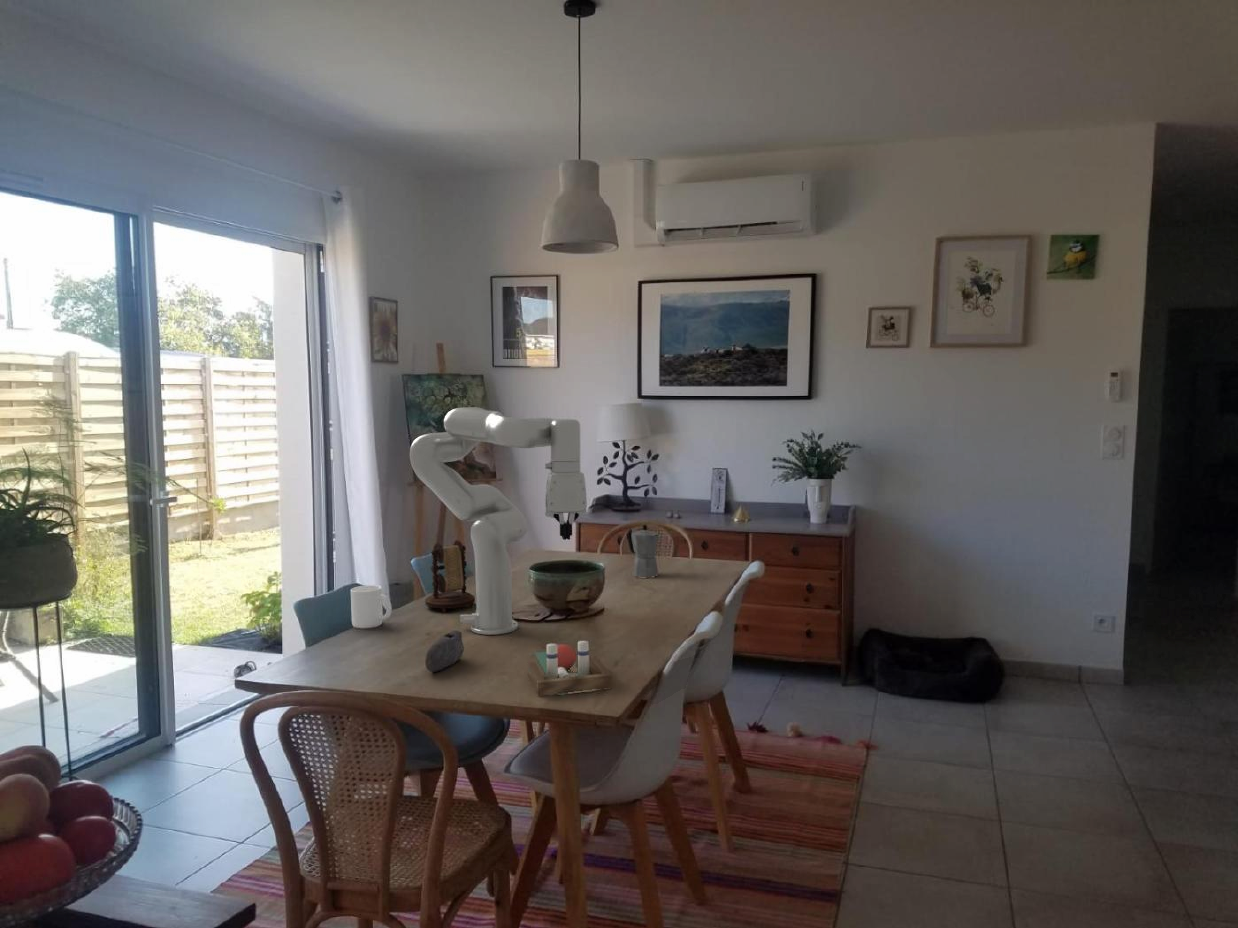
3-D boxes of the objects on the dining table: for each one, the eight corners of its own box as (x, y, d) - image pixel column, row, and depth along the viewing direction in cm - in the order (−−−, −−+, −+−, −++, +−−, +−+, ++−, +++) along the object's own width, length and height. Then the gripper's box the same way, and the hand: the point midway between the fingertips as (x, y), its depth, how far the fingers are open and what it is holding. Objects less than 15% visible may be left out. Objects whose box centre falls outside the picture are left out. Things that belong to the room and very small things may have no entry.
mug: (400, 623, 233) (398, 586, 232) (382, 631, 225) (381, 593, 224) (364, 619, 237) (362, 584, 236) (345, 627, 229) (344, 590, 228)
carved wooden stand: (440, 615, 240) (438, 547, 238) (416, 606, 251) (414, 541, 250) (484, 606, 250) (482, 541, 248) (459, 598, 261) (457, 535, 259)
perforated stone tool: (436, 677, 188) (435, 647, 187) (416, 675, 189) (415, 645, 189) (469, 657, 202) (469, 629, 201) (450, 655, 203) (450, 628, 203)
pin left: (547, 684, 182) (546, 646, 181) (547, 681, 184) (546, 643, 184) (558, 684, 182) (557, 646, 181) (558, 680, 185) (557, 643, 184)
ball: (547, 641, 191) (544, 660, 194) (556, 658, 186) (553, 678, 189) (571, 636, 193) (568, 656, 196) (581, 654, 189) (577, 673, 192)
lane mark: (534, 653, 204) (534, 652, 204) (566, 650, 206) (566, 649, 206) (557, 695, 175) (557, 694, 175) (594, 691, 177) (594, 690, 177)
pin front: (560, 679, 187) (569, 692, 179) (553, 672, 186) (561, 685, 178) (568, 671, 187) (576, 683, 179) (560, 664, 186) (568, 676, 178)
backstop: (538, 696, 175) (537, 682, 175) (527, 675, 188) (527, 662, 188) (611, 688, 179) (611, 675, 179) (596, 668, 192) (596, 655, 192)
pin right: (578, 681, 184) (577, 644, 183) (578, 677, 186) (577, 640, 185) (589, 681, 184) (588, 643, 183) (588, 677, 186) (588, 640, 186)
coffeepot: (668, 576, 289) (668, 525, 287) (649, 580, 282) (649, 528, 281) (636, 570, 300) (636, 520, 298) (618, 574, 293) (617, 523, 292)
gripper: (538, 469, 206) (539, 542, 208) (597, 468, 210) (597, 540, 211) (534, 467, 213) (535, 537, 215) (591, 465, 217) (591, 535, 219)
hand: (566, 538), depth 213 cm, fingers closed
